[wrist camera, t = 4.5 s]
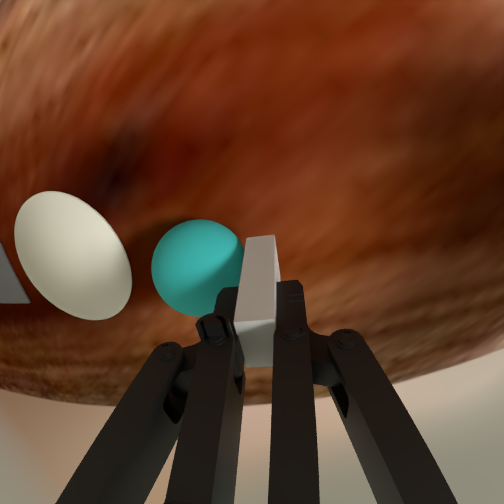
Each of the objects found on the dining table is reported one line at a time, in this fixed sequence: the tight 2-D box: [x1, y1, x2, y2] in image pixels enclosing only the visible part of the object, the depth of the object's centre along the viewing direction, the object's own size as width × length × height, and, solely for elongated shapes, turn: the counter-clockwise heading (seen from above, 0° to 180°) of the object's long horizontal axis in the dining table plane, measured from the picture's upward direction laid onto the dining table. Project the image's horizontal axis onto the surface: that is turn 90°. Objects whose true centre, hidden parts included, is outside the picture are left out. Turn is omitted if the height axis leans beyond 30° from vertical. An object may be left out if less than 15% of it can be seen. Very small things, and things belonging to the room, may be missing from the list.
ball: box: [151, 219, 245, 317], centre depth 18 cm, size 6×6×6 cm
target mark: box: [14, 191, 132, 320], centre depth 22 cm, size 12×12×1 cm
